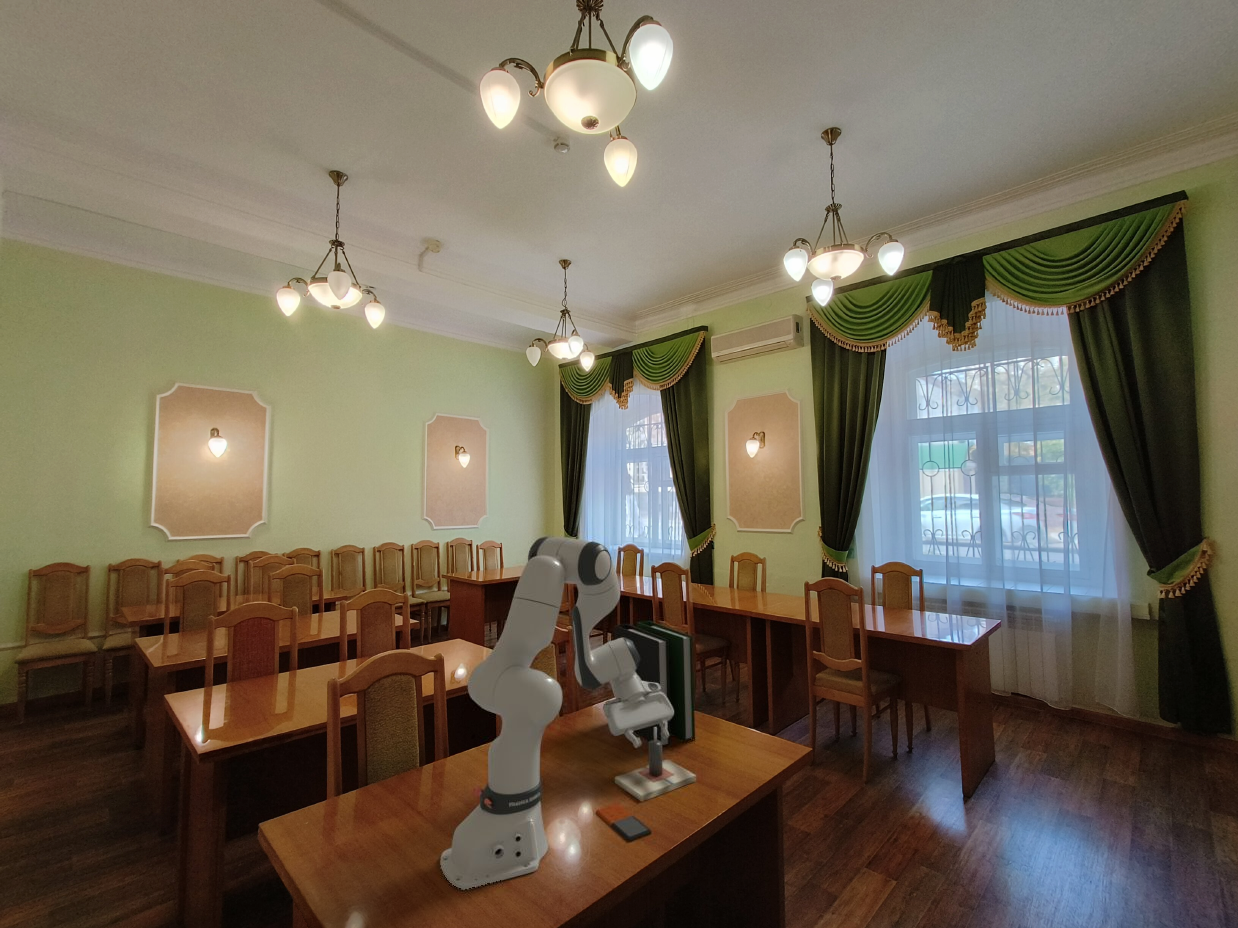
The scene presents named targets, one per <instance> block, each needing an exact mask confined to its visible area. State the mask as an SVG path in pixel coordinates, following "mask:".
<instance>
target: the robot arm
mask: <svg viewBox="0 0 1238 928" xmlns="http://www.w3.org/2000/svg"><path fill="white" fill-rule="evenodd" d="M565 584H572V585H576V587H577V591H578V595H577V596H578V597H577V601H576V604H575V605H574V607H572V608H571V632H572V642H573V652H574V675H575V678H576V680H577V682H578V684H579V685H580V687H582V688H584V689H586V690H590V691H595V690H597V689H598V688H600V687H601V686H604V685H605V684H606V683H609V685H611V689H612V692H613V695H614V698H615V699H612V700H606V701H605V703H604V704H603V706H602V711H603V712H604V715H605V716H606V720H607V725H608V728H609V731H610V733H611V734H612V735H613V736H614V737H616V736H620V735H624V736H625V737H626V738H627V739H628V740H629V741H630V742H632V744H633V747H634V748H635V749H637V748H639V747H641V746H642V744H643V743H642V740H641V737H636V736H635V735H634V734H633V733H634V732H633V731H635V730H638V729H642V728H645V727H649V726H652V725H655V724H659V725H660V727H662V732H661V733H660V734H661V736H662V738H663V739H665V738H668V737H669V733H668V730H667V721H669V720H670V719H671V718H672V717H673V715H674V709H673V707H672V705H671V703H670V702H669V700H668V698H667V697H666V695H665V694H664V693H663V692H660V690H661V686H660V685H659V684H658V683H652V682H646V681H641V679H640V677H639V676H638V675H637V673H636V671H635V670H636V669H637V668H638V665H639V662H640V656H639V654H638V652H637V650H636V648H635V646H634V644H633V641H631V640H629V639H627V638H624V637H623V638H619V639H616V640H615V639H614V640H609V641H608V642H606V643H604V644H602V645H600V646H599V647H597V648H594V649H592V650H591V643H590V633H591V631H592V630H593V628H594V627H595V626H596V625H597V624H598V623H599V622H600V621H601V620H603V618H605V617H606V616H607V615H609V614H610V613H611V612H612V611H613V610H614V609H615V607H616V606H617V605H618V603H619V601H620V597H621V588H620V581H619V578H618V575H617V570H616V567H615V565H614V563H613V560H612V557H611V553H610V551H609V550H608V548H607V547H606V546H605V545H603V544H601V543H598V542H597V541H588V540H583V539H578V538H575V537H569V536H566V537H565V536H560V537H559V536H557V537H555V536H551V535H549V536H542V537H540V538H538V539H536V540H535V542H533V544H532V545H531V547H530V548H529V552H528V555H527V563H526V564H525V566H524V568H523V570H522V572H521V575H520V577H519V579H518V583H517V586H516V587H515V591H514V593H513V597H512V601H511V603H510V604H511V605H510V609H509V611H508V616H507V619H506V622H505V624H504V628H503V630H502V633H501V635H500V637H499V639H498V641H497V643H496V644H495V646H494V648H493V649H492V651H491V652H490V653H489V655H488V656H487V658H485V659H484V660H483V661H481V662H480V663H478V664H477V665H476V666H475V667H474V668H473V670H472V671H471V673H470V674H469V677H468V682H467V691H468V694H469V697H470V698H471V699H472V701H474V702H475V703H476V704H477V705H478V706H479V707H481V708H482V709H484V710H485V711H487V712H491V713H492V714H493V713H494V714H496V715H498V716H500V718H501V721H502V722H501V723H502V724H501V730H500V734H499V736H498V737H496V738H494V740H492V742H491V743H490V745H489V748H488V753H487V754H488V761H487V765H488V775H487V777H488V782H487V783H486V786H485V788H484V789H483V788H482V787H481V786H480V785H475V786H473V788H472V790H471V793H472V795H473V796H474V797H475V798H476V799H479V804H478V805H477V806H476V807H475V808H474V810H473V811H472V812H471V813H469V814H468V816H466V818H464V820H463V821H462V822H461V823H460V824H458V825H457V827H456V828H455V830H454V833H453V837H452V841H451V842H452V843H451V847H450V848H447V849H445V850H444V851H443V852H442V854H441V856H440V861H439V865H441V867H440V870H441V869H442V871H443V873H444V875H445V877H446V878H447V880H449V882H450V883H452V885H451V886H453V885H454V886H456V887H458V888H457V889H459V888H461V889H460V890H461V891H466V890H465V889H467V890H470V889H469V888H471V889H473V888H472V887H475V888H478V886H479V887H482V886H481V885H483V886H485V884H486V885H488V884H487V883H490V884H493V882H494V883H496V881H497V882H500V880H501V881H504V880H509V879H511V878H516V877H518V876H519V877H520V876H522V875H527V874H530V873H533V872H536V871H537V870H538V868H539V865H540V861H541V860H542V858H543V857H545V855H546V854H547V851H548V850H549V849H548V848H549V842H548V838H547V836H546V832H545V827H544V821H543V813H542V802H543V781H542V777H541V774H540V773H541V771H540V769H541V768H540V767H541V766H540V765H541V764H540V763H541V744H542V739H543V735H544V732H545V730H546V727H547V726H548V725H549V724H550V723H552V722H553V721H554V720H555V719H556V718H557V716H558V714H559V713H560V710H561V708H562V704H563V690H562V687H561V685H560V683H559V682H558V681H557V680H555V679H554V678H553V677H551V676H550V675H548V674H547V673H545V672H544V671H541V670H537V669H535V668H531V665H532V663H533V661H534V659H535V658H536V656H537V655H538V654H539V652H540V651H541V650H544V649H546V648H547V647H548V646H550V644H551V643H552V641H553V639H554V635H555V634H554V633H555V630H556V627H557V623H558V617H559V614H560V610H561V606H562V600H563V595H564V589H565ZM442 871H441V872H442ZM443 873H442V874H443ZM444 875H443V876H444ZM445 877H444V878H445ZM446 878H445V879H446ZM449 882H448V883H449ZM450 883H449V884H450ZM454 886H453V887H454ZM456 887H455V888H456Z"/></svg>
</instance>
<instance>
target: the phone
mask: <svg viewBox="0 0 1238 928" xmlns="http://www.w3.org/2000/svg"><path fill="white" fill-rule="evenodd" d="M595 814H596V816H598V817H599V818H600V819H601V820H603V821H604V822H605V823H606V824H607V825H608V826H609V827H611V828H612V830H614V832H616V833H617V834H618V835H619V836H620V837H621V838H623V840H625V841H626V842H627V843H632V842H636V841H638V840H640V839H643V838H645V837H647V836H651V835H652V833H653V832H652V830H651V829H650V828H649V827H647V826H646V825H645V824H644V823H642V822H641V821H640V820H639V819H637V817H635V816H634V815H633V814H631V813H630V812H629V811H628V810H627V809H625V808H624V807H623V806H622V805H621V804H620V803H613V804H611V805H608V806H604V807H601V808H599V809H597V810H596V811H595Z"/></svg>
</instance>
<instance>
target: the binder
mask: <svg viewBox="0 0 1238 928" xmlns="http://www.w3.org/2000/svg"><path fill="white" fill-rule="evenodd" d="M636 625H637V626H634V625H633V624H632V625H631V624H630V623H624V624H617V625H616V624H615V625H614V640H616V639H619V638H623V637H624V638H627V639H629V640H631V641H633V644H634V646H635V648H636V650H637V652H638V654H639V656H640V662H639V665H638V668H637V669H636V670H635V671H636V673H637V675H638V676H639V677H640V679H641V681H646V682H652V683H658V684H659V685H660V686H661V690H660V692H663V693H664V694H665V695H666V697H667V698H668V700H669V702H670V703H671V705H672V707H673V709H674V715H673V717H672V718H671V719H670V720H669V721H667V730H668V733H669V737H668V738H665V739H663V738H662V736H661V734H660V733H661V732H662V727H660V725H659V724H655V725H652V726H649V727H645V728H642V729H638V730H635V731H633V733H635V734H636V735H637V736H639V737H640V738H642V739H644V740H645V741H647V742H648V743H649V741H651V740H654V727H657V740H659V741H661V742H662V746H664V745H666V744H667V745H666V746H667V747H670V748H672V740H671V739H672V738H671V737H672V735H674V736H675V737H674V736H673V737H674V738H676V737H677V738H676V739H678V740H679V739H680V740H679V741H681V740H682V741H681V742H682V743H684V742H685V744H687V740H688V739H691V738H692V739H694V740H695V741H696V727H695V726H696V723H695V722H696V721H695V719H696V718H695V687H694V686H695V685H694V683H695V681H694V680H695V678H694V651H693V649H694V648H693V646H694V645H693V635H689V634H687V633H684V632H682V631H680V630H679V631H678V630H676V629H673V628H670V627H668V626H665V625H662V624H660V623H657V622H654V621H651V620H648V621H647V620H646V621H638V622H636ZM671 734H672V735H671ZM692 739H691V740H692ZM694 740H693V741H694Z"/></svg>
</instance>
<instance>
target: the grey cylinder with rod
mask: <svg viewBox="0 0 1238 928" xmlns="http://www.w3.org/2000/svg"><path fill="white" fill-rule="evenodd" d="M662 761H663V745H662V742H661V741H659V740H657V727H654V740H651V741H649V742H648V766H649V774H650V775H651V776H655V777H657V776H661V775H662V774H663V767H662Z"/></svg>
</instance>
